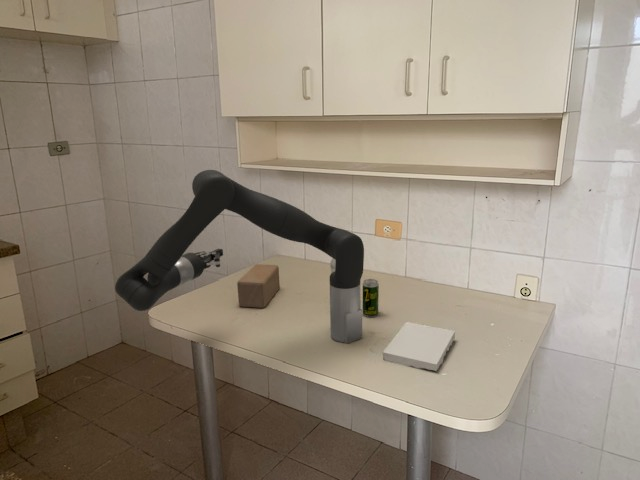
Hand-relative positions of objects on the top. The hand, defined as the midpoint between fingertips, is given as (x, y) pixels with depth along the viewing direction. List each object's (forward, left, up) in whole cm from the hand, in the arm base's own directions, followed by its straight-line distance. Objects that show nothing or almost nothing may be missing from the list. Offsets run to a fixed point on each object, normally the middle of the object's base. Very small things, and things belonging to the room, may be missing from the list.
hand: (220, 251), depth 144 cm
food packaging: (-47, -39, -26) cm, 67 cm away
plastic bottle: (-6, -41, -26) cm, 49 cm away
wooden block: (+9, -13, -21) cm, 26 cm away
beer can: (-21, -43, -26) cm, 55 cm away
